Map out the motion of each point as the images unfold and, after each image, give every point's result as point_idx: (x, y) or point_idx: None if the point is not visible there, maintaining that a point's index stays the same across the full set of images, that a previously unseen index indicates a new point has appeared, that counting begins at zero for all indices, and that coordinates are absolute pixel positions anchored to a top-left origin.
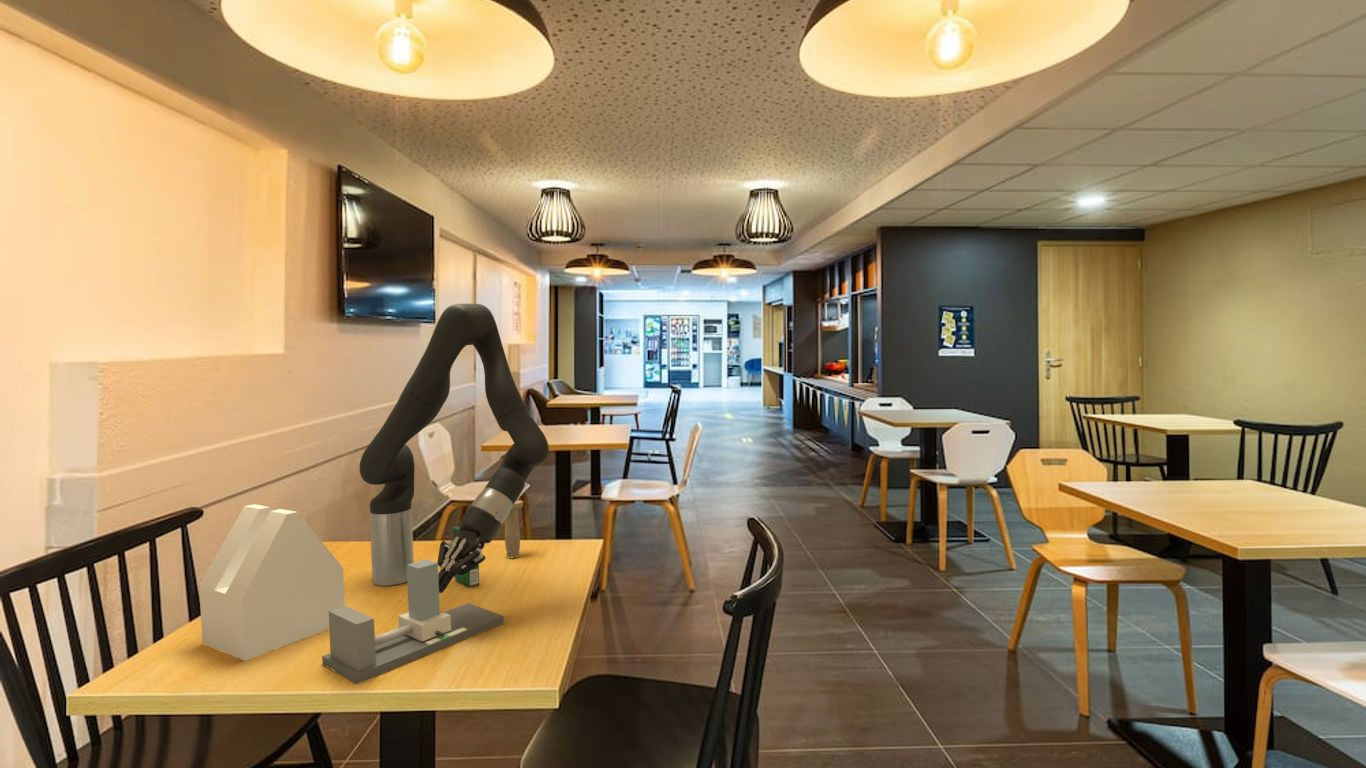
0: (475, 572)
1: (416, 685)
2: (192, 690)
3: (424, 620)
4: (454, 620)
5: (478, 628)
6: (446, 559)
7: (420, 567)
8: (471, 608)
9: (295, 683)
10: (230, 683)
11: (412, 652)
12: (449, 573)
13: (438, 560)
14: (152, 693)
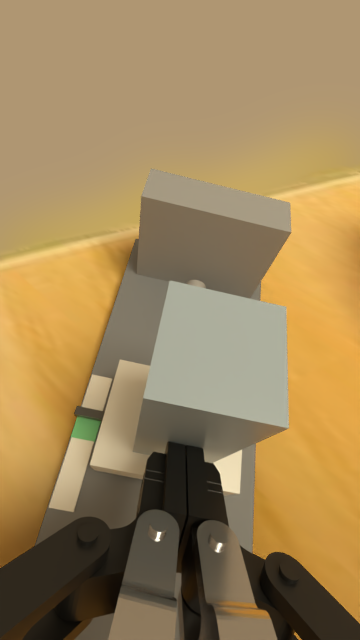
0: None
1: (18, 274)
2: (323, 191)
3: (141, 389)
4: None
5: None
6: (240, 603)
7: (173, 294)
8: None
9: None
10: (306, 210)
11: (104, 334)
12: (136, 520)
13: (315, 587)
14: (351, 179)
